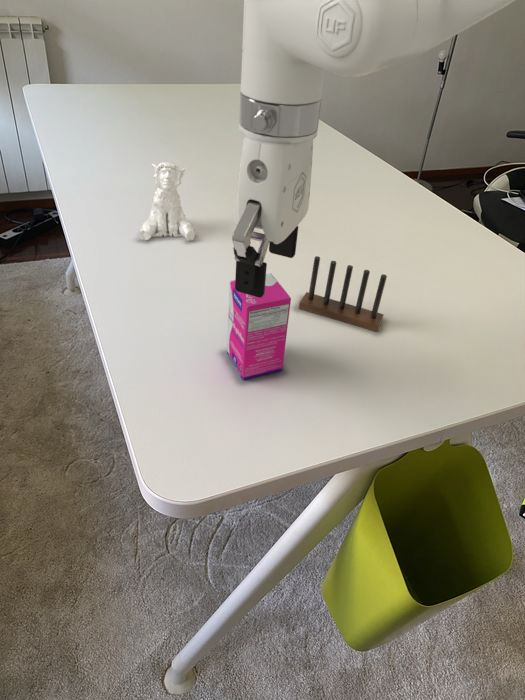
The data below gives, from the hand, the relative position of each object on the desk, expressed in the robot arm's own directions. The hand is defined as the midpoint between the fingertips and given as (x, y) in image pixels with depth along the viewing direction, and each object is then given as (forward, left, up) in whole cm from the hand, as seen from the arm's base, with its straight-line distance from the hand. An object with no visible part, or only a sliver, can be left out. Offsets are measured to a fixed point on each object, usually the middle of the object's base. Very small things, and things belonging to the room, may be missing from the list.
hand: (266, 272), depth 63 cm
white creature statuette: (+28, -26, -14) cm, 41 cm away
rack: (-7, -16, -14) cm, 22 cm away
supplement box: (+1, 0, -14) cm, 14 cm away
